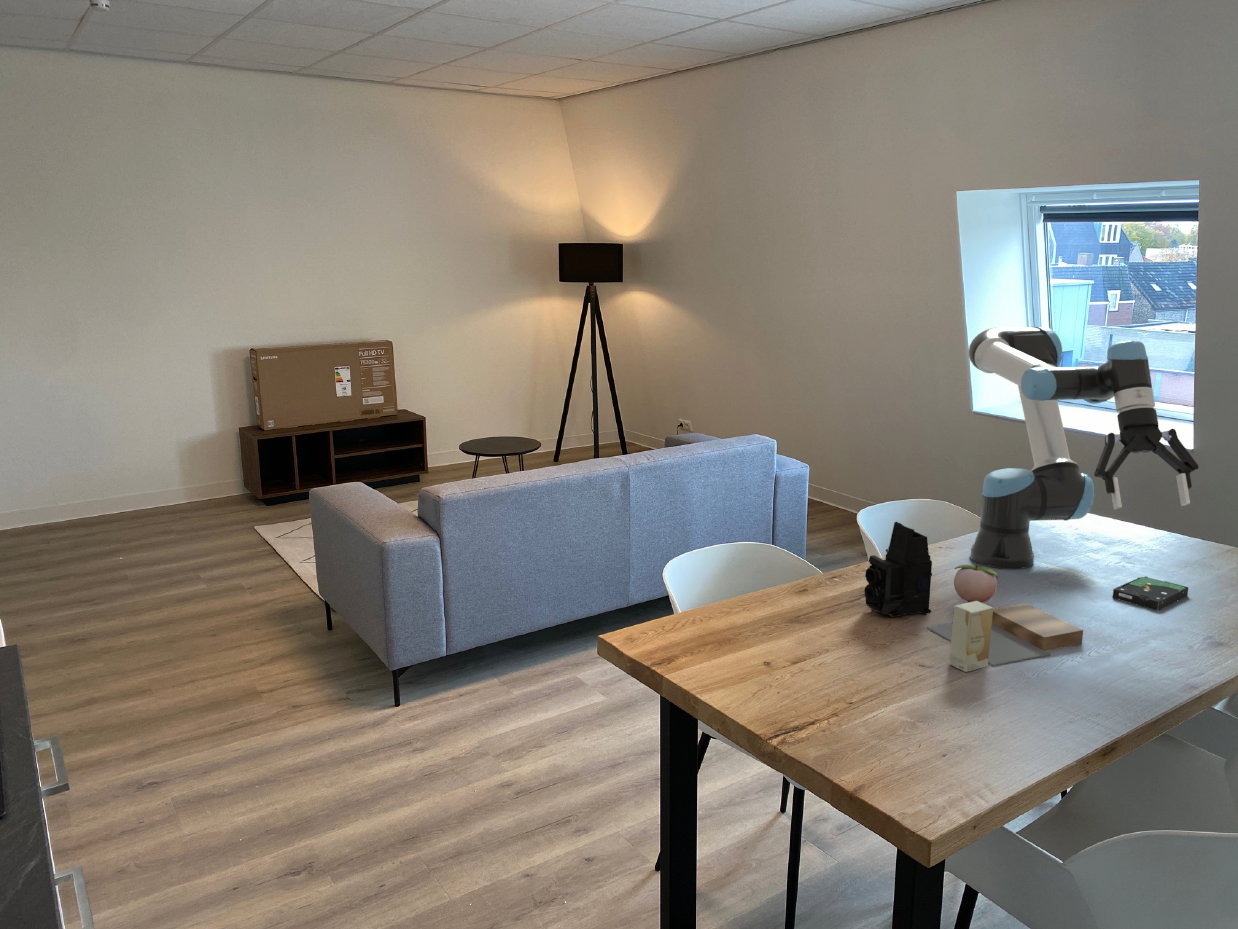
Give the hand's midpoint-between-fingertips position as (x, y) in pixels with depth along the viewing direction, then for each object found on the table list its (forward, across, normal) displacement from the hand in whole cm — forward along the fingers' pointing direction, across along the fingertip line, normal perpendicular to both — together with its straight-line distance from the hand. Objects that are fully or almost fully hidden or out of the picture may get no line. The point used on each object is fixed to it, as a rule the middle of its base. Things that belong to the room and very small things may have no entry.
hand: (1151, 506), depth 199 cm
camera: (+20, -54, +6) cm, 58 cm away
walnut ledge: (+26, -28, -2) cm, 38 cm away
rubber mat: (+27, -38, -7) cm, 48 cm away
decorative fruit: (+19, -36, +12) cm, 42 cm away
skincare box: (+32, -45, -18) cm, 58 cm away
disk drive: (+18, +5, +21) cm, 28 cm away
